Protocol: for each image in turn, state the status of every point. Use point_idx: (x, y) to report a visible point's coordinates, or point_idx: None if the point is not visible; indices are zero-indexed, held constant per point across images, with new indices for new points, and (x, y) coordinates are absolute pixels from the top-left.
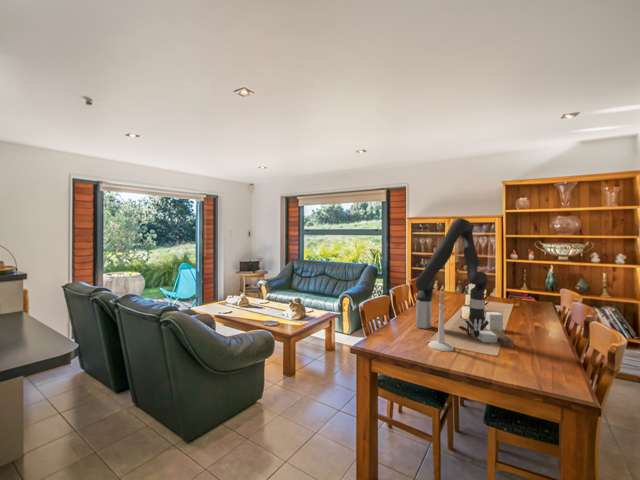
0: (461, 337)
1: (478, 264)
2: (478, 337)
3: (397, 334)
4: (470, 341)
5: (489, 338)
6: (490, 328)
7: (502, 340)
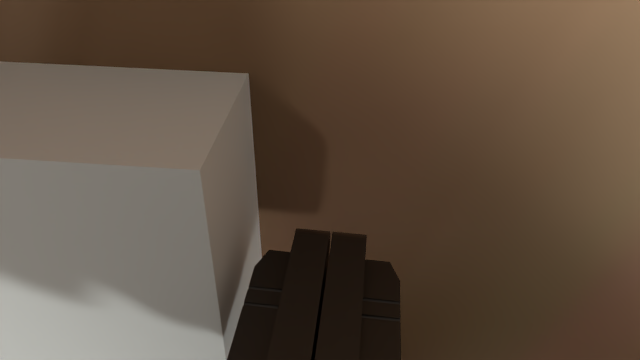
0: (617, 316)
1: None
2: None
3: None
4: (568, 84)
5: (19, 111)
6: None
7: None
